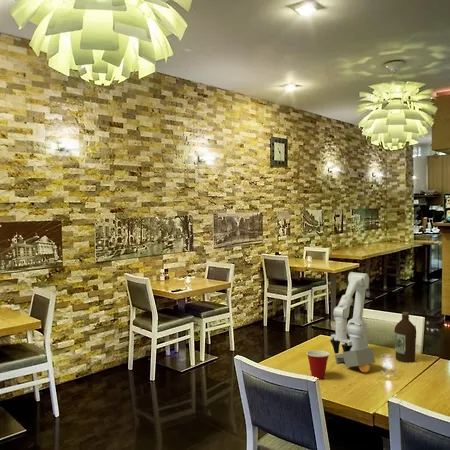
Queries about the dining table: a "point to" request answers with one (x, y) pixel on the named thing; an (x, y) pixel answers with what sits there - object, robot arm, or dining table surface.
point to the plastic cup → (318, 363)
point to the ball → (364, 368)
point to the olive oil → (405, 339)
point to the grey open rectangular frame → (356, 357)
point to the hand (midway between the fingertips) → (341, 355)
